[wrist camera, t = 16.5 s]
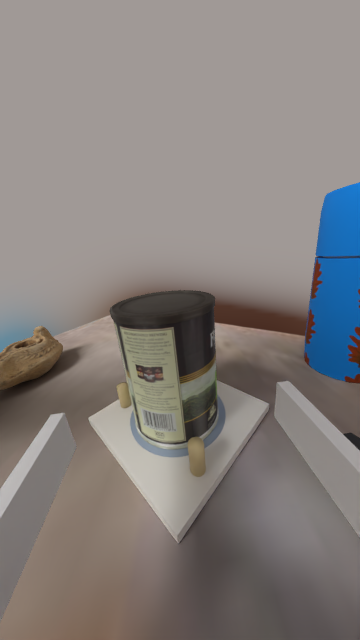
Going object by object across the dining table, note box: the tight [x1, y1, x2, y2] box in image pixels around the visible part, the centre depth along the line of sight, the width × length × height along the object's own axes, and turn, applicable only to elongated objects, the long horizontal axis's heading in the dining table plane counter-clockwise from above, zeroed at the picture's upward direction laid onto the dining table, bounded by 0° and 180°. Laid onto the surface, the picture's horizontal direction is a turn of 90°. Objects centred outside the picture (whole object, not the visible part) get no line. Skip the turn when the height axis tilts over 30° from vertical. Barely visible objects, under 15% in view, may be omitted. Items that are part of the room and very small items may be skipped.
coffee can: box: [110, 290, 219, 449], centre depth 22 cm, size 10×10×14 cm
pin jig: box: [88, 375, 269, 544], centre depth 24 cm, size 16×16×4 cm
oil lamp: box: [0, 326, 63, 390], centre depth 36 cm, size 11×15×8 cm
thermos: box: [304, 183, 360, 383], centre depth 28 cm, size 11×11×25 cm
